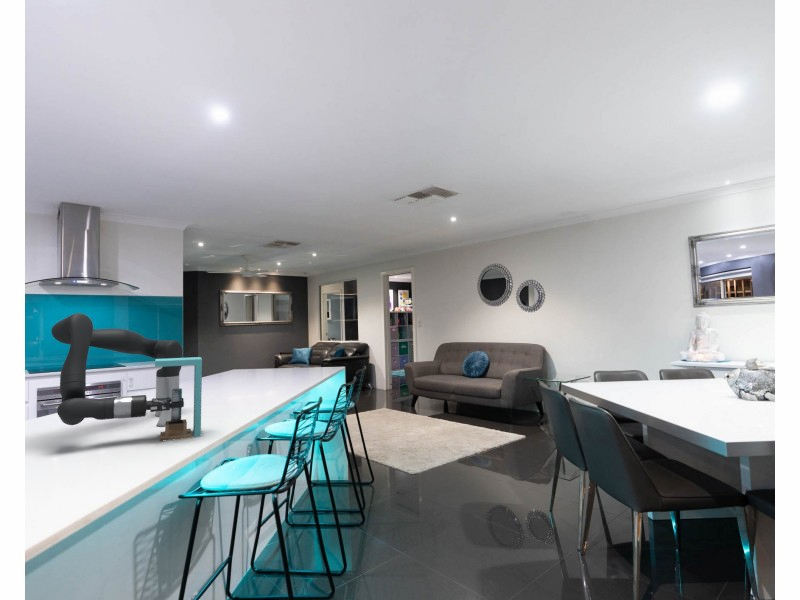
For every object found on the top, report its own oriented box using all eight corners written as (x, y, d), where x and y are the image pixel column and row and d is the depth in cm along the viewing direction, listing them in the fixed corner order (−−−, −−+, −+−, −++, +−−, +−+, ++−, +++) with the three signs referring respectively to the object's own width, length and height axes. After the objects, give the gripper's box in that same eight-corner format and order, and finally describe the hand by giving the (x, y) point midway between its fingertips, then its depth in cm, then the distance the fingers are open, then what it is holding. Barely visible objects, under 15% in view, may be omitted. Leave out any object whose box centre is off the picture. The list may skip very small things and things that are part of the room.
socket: (160, 434, 158) (160, 420, 158) (190, 431, 163) (190, 417, 163) (159, 441, 149) (160, 426, 149) (191, 437, 154) (191, 423, 154)
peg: (170, 432, 156) (171, 388, 157) (180, 431, 158) (182, 388, 159) (170, 434, 153) (171, 390, 154) (180, 433, 155) (182, 389, 156)
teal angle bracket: (154, 435, 157) (155, 358, 158) (199, 430, 164) (200, 357, 165) (153, 442, 148) (155, 361, 149) (200, 436, 155) (202, 359, 156)
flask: (170, 427, 169) (171, 401, 170) (152, 427, 169) (153, 401, 170) (180, 422, 176) (180, 398, 177) (163, 422, 176) (163, 398, 177)
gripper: (129, 399, 143) (184, 395, 151) (132, 393, 156) (183, 389, 164) (128, 421, 143) (184, 416, 151) (131, 413, 156) (183, 408, 164)
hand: (183, 402), depth 157 cm, fingers open, 6 cm apart
